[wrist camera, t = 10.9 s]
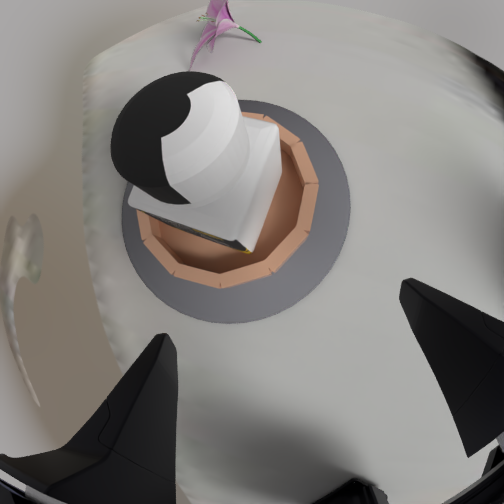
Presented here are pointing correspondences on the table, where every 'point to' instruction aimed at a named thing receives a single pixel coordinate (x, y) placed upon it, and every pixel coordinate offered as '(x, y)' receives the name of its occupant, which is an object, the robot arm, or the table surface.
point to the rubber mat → (291, 272)
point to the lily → (216, 25)
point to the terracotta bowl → (271, 236)
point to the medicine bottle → (198, 159)
